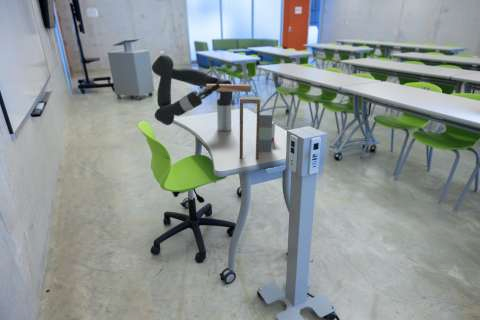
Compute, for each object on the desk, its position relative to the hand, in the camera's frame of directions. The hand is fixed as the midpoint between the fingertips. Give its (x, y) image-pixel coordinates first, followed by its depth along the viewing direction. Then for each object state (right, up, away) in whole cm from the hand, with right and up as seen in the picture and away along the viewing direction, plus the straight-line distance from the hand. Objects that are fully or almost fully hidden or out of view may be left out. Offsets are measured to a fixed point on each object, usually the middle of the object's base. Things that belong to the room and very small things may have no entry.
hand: (219, 84), depth 153 cm
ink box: (+26, -26, +37) cm, 52 cm away
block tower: (+24, -31, +25) cm, 46 cm away
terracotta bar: (+5, -3, +1) cm, 5 cm away
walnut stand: (+15, -35, +15) cm, 41 cm away
